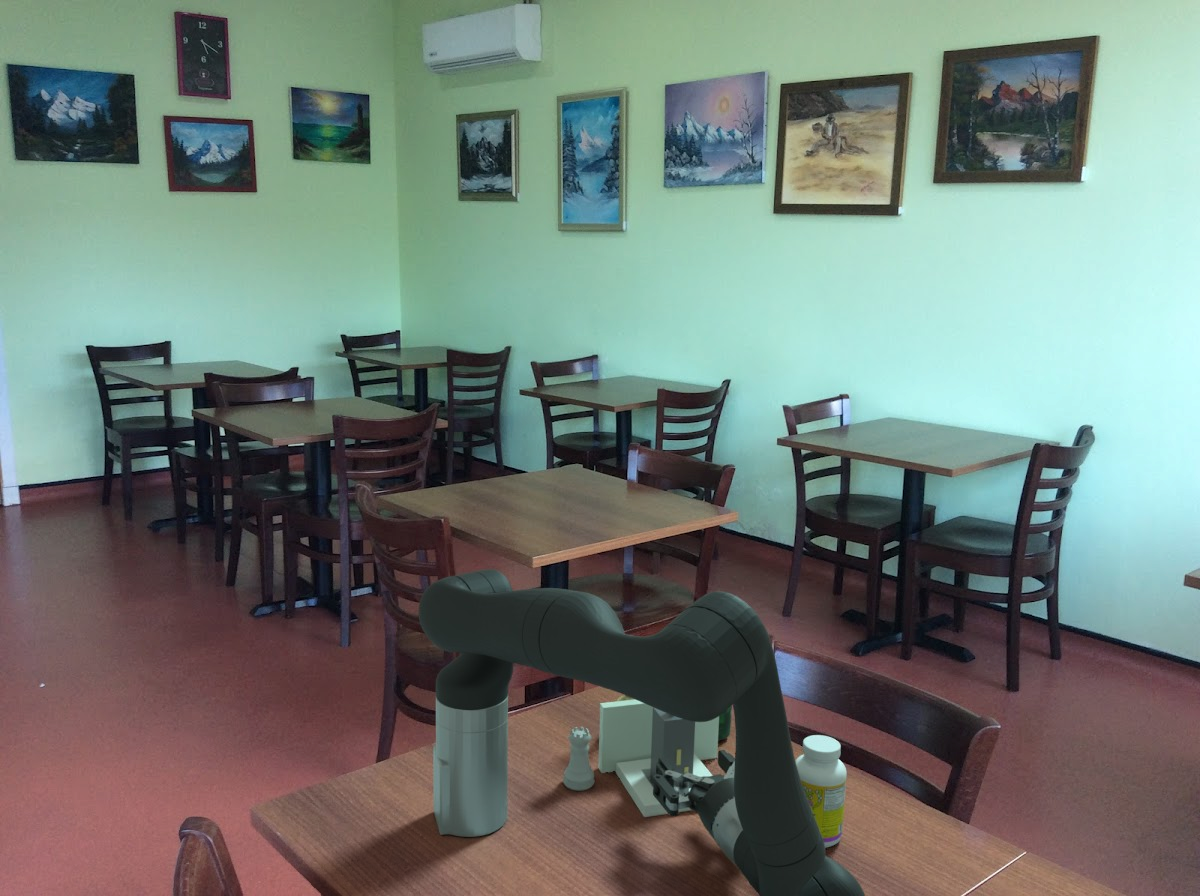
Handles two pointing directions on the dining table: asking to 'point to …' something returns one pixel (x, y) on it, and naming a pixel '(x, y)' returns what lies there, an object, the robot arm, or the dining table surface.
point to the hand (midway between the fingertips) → (690, 760)
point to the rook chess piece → (579, 762)
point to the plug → (672, 743)
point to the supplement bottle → (824, 784)
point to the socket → (644, 749)
